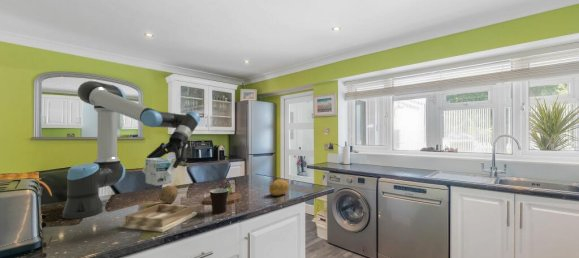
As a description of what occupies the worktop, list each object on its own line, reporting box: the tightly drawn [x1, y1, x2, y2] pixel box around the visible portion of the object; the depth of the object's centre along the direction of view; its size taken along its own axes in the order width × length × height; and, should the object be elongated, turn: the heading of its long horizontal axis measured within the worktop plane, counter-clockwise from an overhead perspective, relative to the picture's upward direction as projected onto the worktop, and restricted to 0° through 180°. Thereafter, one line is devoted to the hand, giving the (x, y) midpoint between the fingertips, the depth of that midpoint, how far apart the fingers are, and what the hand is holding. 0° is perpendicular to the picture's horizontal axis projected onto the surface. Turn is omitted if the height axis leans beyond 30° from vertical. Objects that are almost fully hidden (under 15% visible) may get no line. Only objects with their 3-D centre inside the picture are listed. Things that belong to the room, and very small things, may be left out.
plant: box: [203, 179, 242, 205], centre depth 145 cm, size 20×20×11 cm
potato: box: [268, 178, 289, 197], centre depth 154 cm, size 10×13×9 cm
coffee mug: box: [209, 188, 228, 214], centre depth 124 cm, size 12×9×10 cm
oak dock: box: [119, 203, 198, 233], centre depth 111 cm, size 21×21×4 cm
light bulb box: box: [144, 157, 173, 186], centre depth 110 cm, size 11×7×11 cm, turn 52°
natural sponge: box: [159, 184, 179, 205], centre depth 137 cm, size 9×9×10 cm
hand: (156, 173), depth 109 cm, fingers closed on light bulb box, 12 cm apart
